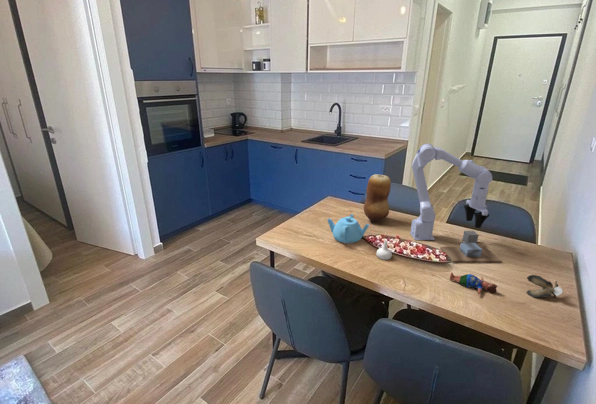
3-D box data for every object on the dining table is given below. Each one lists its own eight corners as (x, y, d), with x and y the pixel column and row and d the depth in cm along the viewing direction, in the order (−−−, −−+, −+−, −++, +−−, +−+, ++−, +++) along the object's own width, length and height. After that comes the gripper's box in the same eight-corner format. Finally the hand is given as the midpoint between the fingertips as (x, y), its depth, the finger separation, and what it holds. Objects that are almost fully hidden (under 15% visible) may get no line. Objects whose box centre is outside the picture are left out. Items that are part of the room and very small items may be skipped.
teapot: (325, 234, 156) (325, 213, 152) (351, 228, 161) (352, 209, 158) (341, 247, 143) (342, 226, 139) (369, 241, 148) (370, 220, 144)
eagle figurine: (548, 285, 114) (522, 278, 115) (563, 277, 108) (535, 270, 109) (552, 305, 110) (525, 298, 111) (567, 298, 104) (538, 291, 105)
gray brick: (466, 244, 145) (468, 235, 143) (462, 240, 149) (464, 230, 147) (476, 244, 145) (478, 235, 143) (471, 240, 149) (473, 230, 147)
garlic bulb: (375, 260, 134) (376, 243, 130) (377, 251, 139) (378, 236, 135) (390, 262, 132) (392, 246, 128) (392, 254, 137) (393, 238, 133)
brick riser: (452, 262, 130) (454, 253, 129) (440, 248, 141) (441, 239, 140) (501, 262, 130) (503, 253, 129) (485, 248, 141) (487, 239, 140)
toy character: (454, 262, 123) (499, 274, 115) (452, 272, 124) (497, 285, 116) (448, 277, 113) (497, 291, 105) (446, 288, 115) (494, 303, 107)
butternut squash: (390, 225, 165) (395, 179, 156) (364, 225, 165) (368, 179, 156) (384, 215, 178) (388, 171, 169) (360, 215, 178) (363, 171, 169)
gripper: (497, 201, 132) (491, 230, 137) (479, 190, 146) (473, 217, 151) (481, 201, 132) (474, 230, 137) (464, 190, 146) (458, 217, 151)
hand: (473, 224), depth 144 cm, fingers open, 7 cm apart
